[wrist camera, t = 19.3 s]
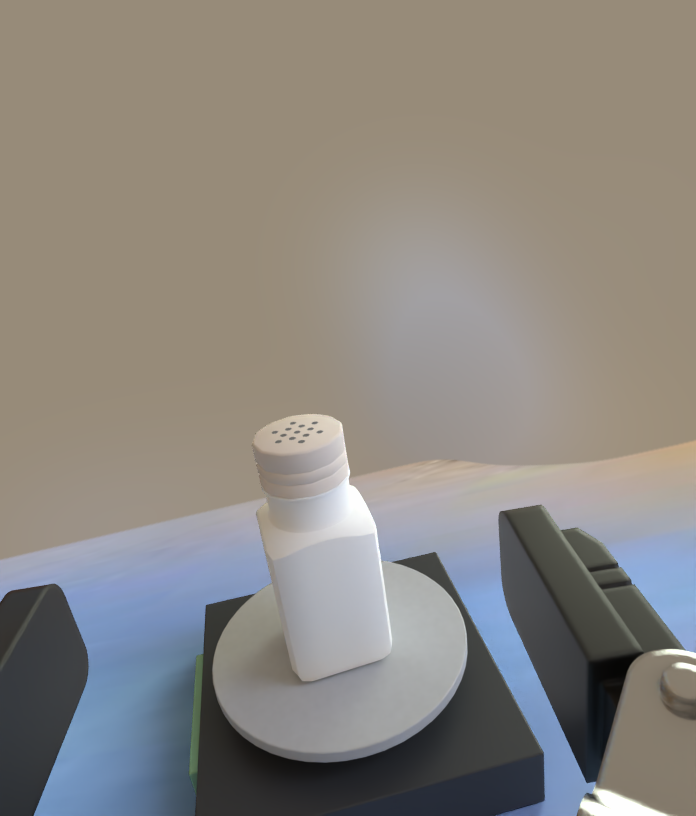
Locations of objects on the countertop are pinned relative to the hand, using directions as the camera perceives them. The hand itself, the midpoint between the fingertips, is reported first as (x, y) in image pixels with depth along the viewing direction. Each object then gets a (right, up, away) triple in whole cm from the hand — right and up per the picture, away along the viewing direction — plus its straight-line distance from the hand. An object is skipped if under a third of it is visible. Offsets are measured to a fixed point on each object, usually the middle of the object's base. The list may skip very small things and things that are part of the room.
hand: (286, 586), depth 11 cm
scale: (+1, -10, +16) cm, 18 cm away
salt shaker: (+1, -6, +14) cm, 15 cm away
